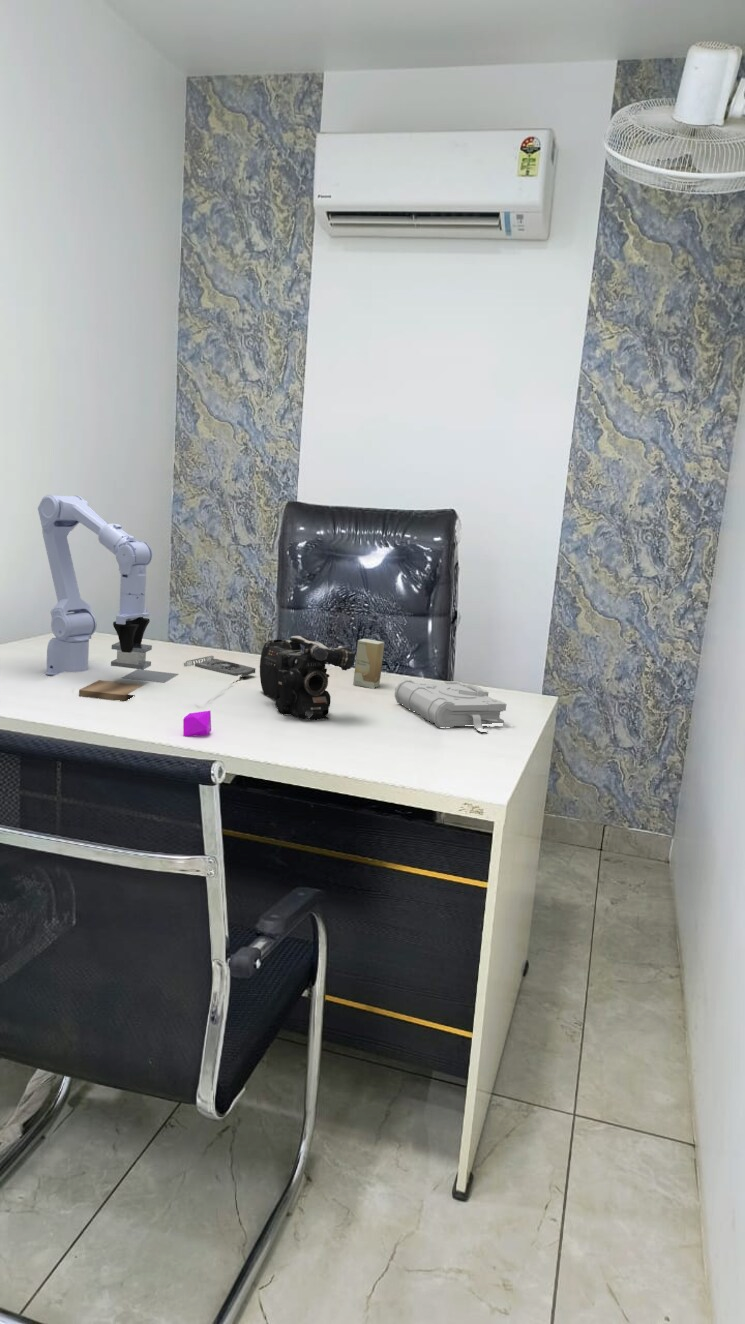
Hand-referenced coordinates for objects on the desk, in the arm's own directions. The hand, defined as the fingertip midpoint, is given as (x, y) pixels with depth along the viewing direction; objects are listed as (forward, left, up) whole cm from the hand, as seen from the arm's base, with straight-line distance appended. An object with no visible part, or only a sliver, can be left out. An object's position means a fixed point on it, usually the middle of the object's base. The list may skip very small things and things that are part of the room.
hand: (130, 650), depth 220 cm
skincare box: (+53, +31, -10) cm, 63 cm away
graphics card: (+15, +26, -10) cm, 31 cm away
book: (+77, +8, -10) cm, 79 cm away
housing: (0, 0, -4) cm, 4 cm away
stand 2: (+2, +9, -9) cm, 13 cm away
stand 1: (-2, -7, -9) cm, 12 cm away
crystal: (+26, -30, -10) cm, 41 cm away
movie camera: (+41, 0, -10) cm, 42 cm away
